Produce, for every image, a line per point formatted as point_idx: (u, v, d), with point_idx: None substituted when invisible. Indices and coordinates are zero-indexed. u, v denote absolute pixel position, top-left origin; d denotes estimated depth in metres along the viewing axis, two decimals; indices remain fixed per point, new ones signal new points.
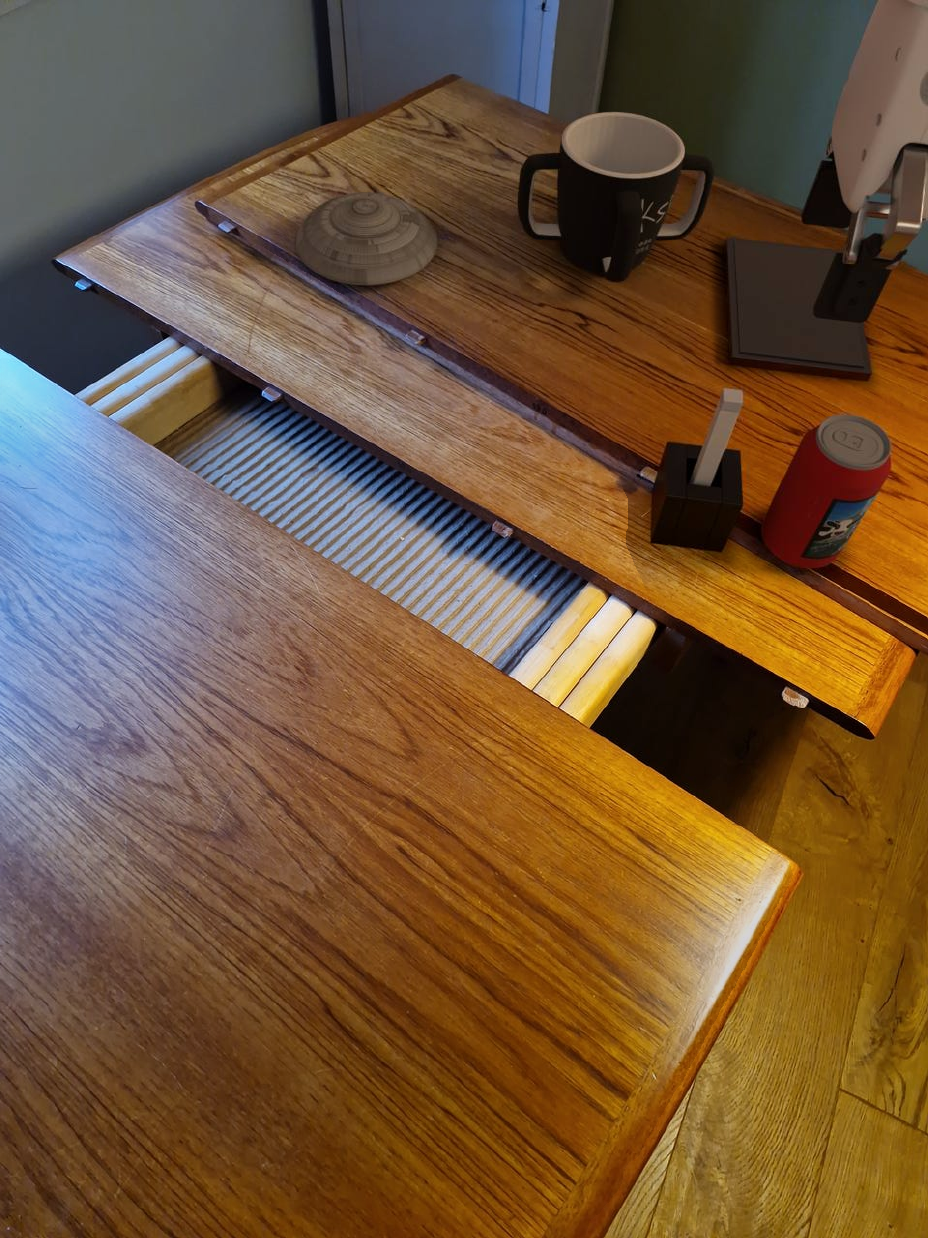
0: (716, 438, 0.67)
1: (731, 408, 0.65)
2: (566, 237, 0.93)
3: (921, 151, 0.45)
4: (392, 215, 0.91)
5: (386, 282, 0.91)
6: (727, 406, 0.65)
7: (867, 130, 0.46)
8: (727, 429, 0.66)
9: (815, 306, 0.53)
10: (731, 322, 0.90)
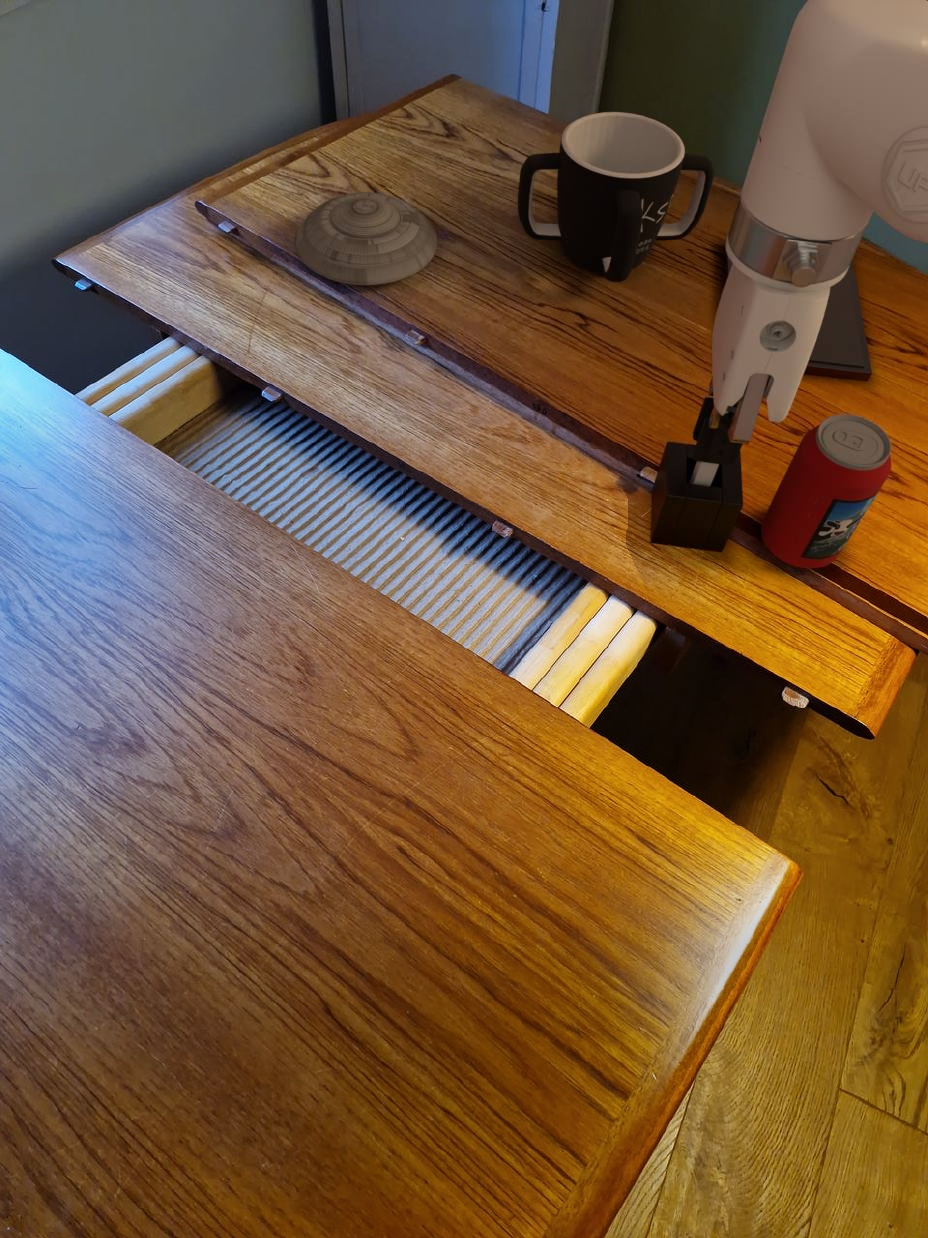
0: None
1: (731, 408, 0.65)
2: (566, 237, 0.93)
3: (760, 386, 0.58)
4: (392, 215, 0.91)
5: (386, 282, 0.91)
6: None
7: (726, 358, 0.58)
8: None
9: (694, 453, 0.68)
10: None
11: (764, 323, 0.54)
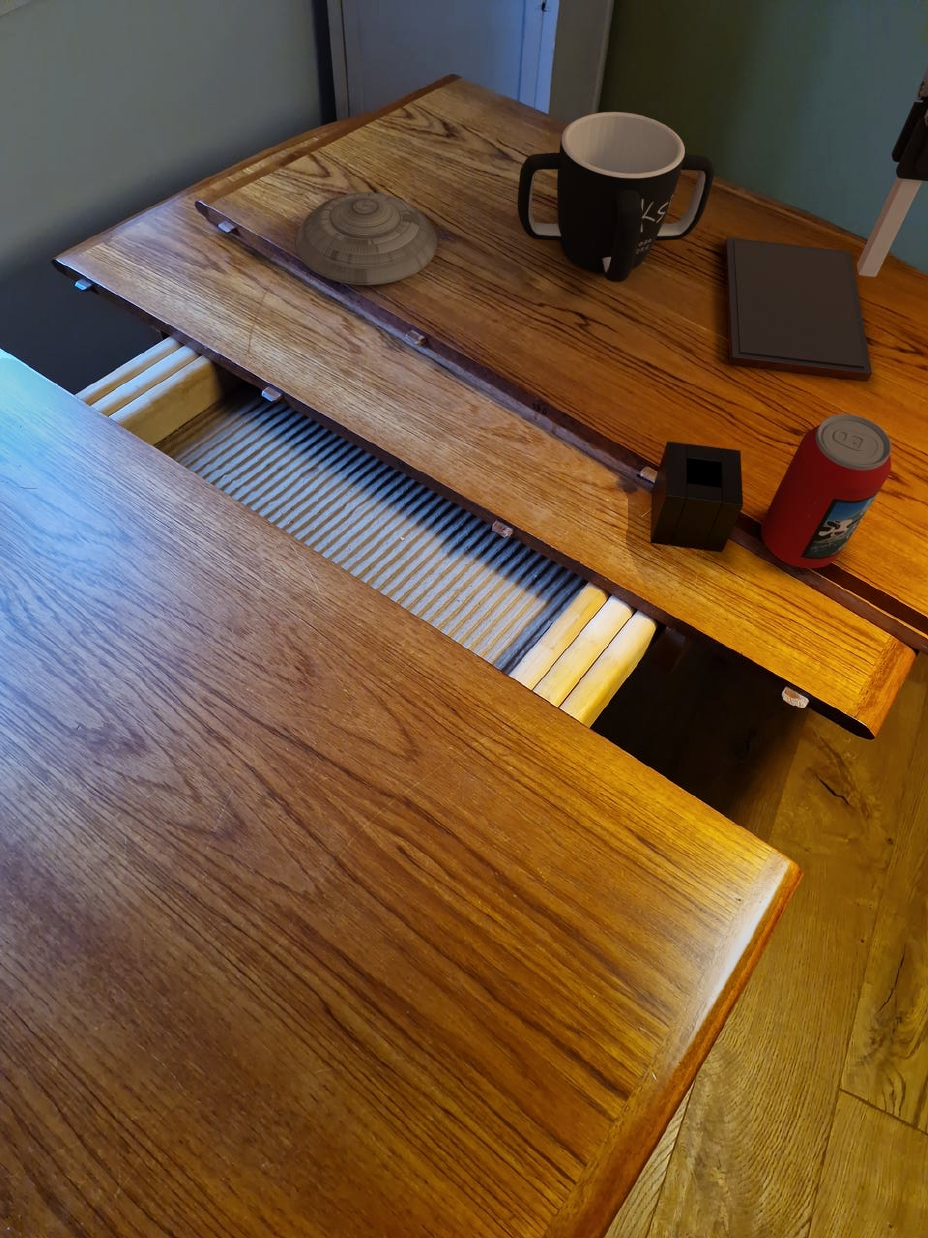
0: None
1: None
2: (566, 237, 0.93)
3: None
4: (392, 215, 0.91)
5: (386, 282, 0.91)
6: None
7: None
8: None
9: (898, 167, 0.64)
10: (731, 322, 0.90)
11: None
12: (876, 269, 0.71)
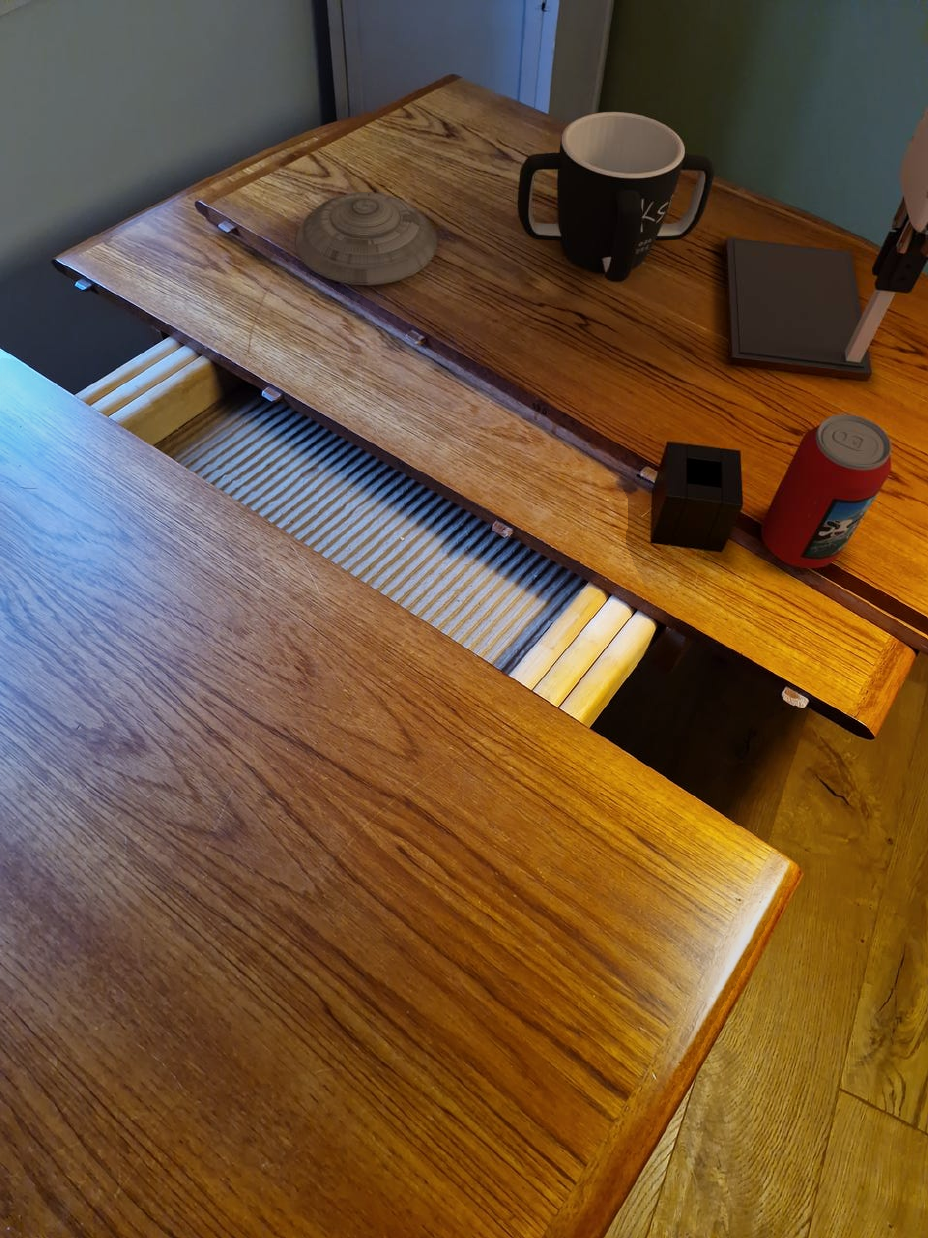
0: None
1: None
2: (566, 237, 0.93)
3: None
4: (392, 215, 0.91)
5: (386, 282, 0.91)
6: None
7: None
8: None
9: (876, 282, 0.79)
10: (731, 322, 0.90)
11: None
12: (860, 356, 0.86)
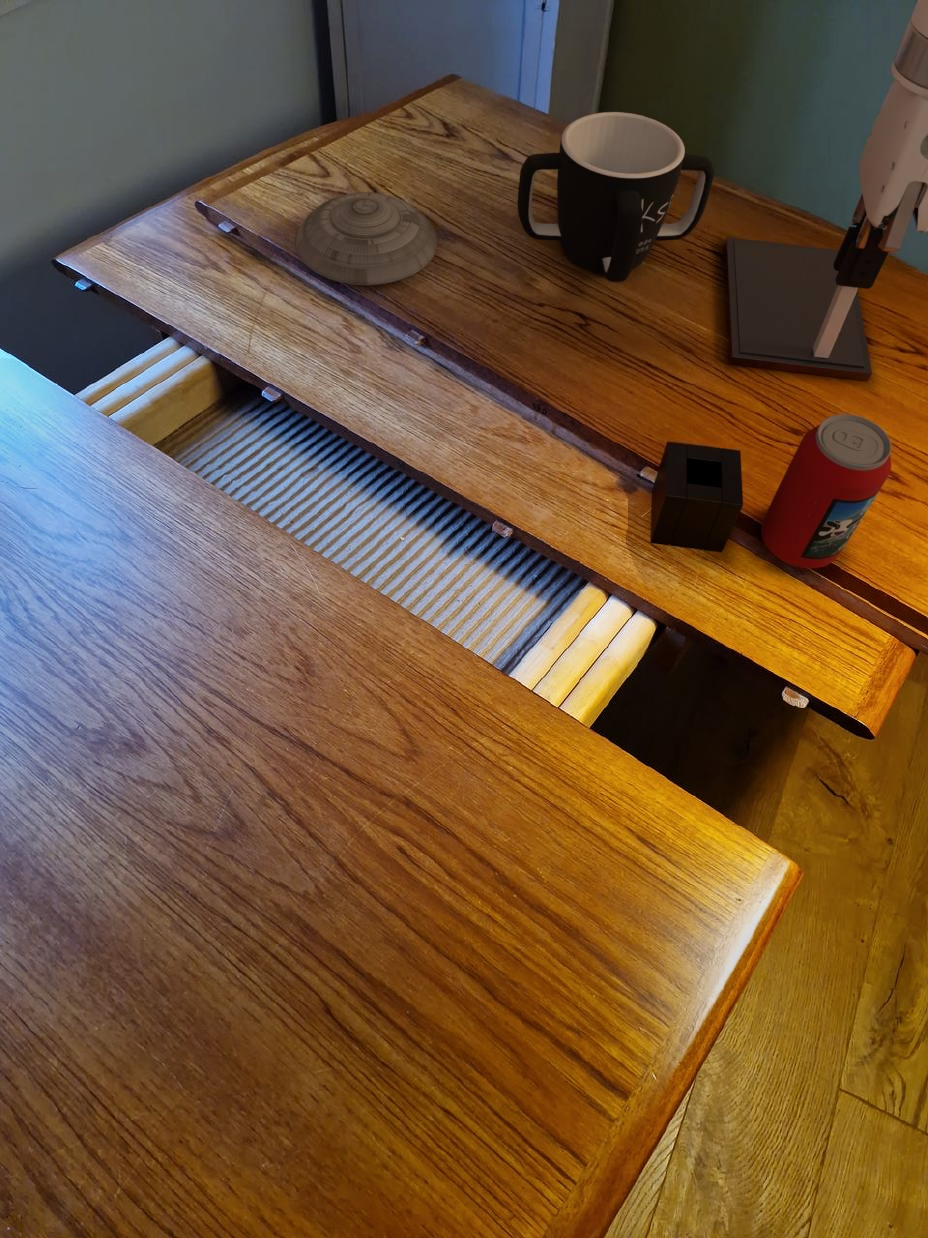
0: None
1: None
2: (566, 237, 0.93)
3: (914, 196, 0.69)
4: (392, 215, 0.91)
5: (386, 282, 0.91)
6: None
7: (885, 172, 0.69)
8: None
9: (837, 277, 0.79)
10: (731, 322, 0.90)
11: (926, 132, 0.65)
12: (828, 352, 0.86)
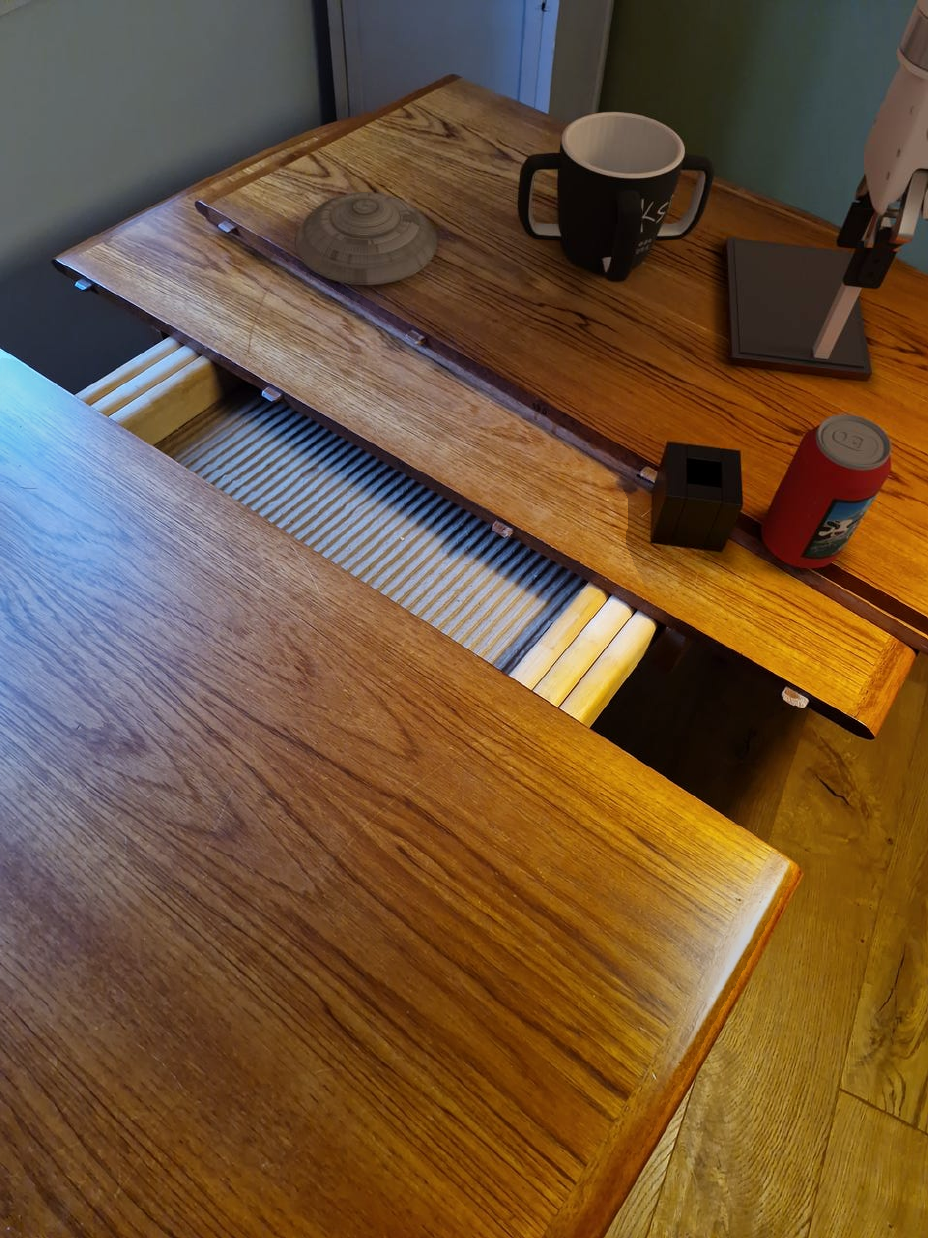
0: None
1: None
2: (566, 237, 0.93)
3: (923, 180, 0.68)
4: (392, 215, 0.91)
5: (386, 282, 0.91)
6: None
7: (890, 159, 0.68)
8: None
9: (844, 277, 0.77)
10: (731, 322, 0.90)
11: None
12: (828, 353, 0.86)
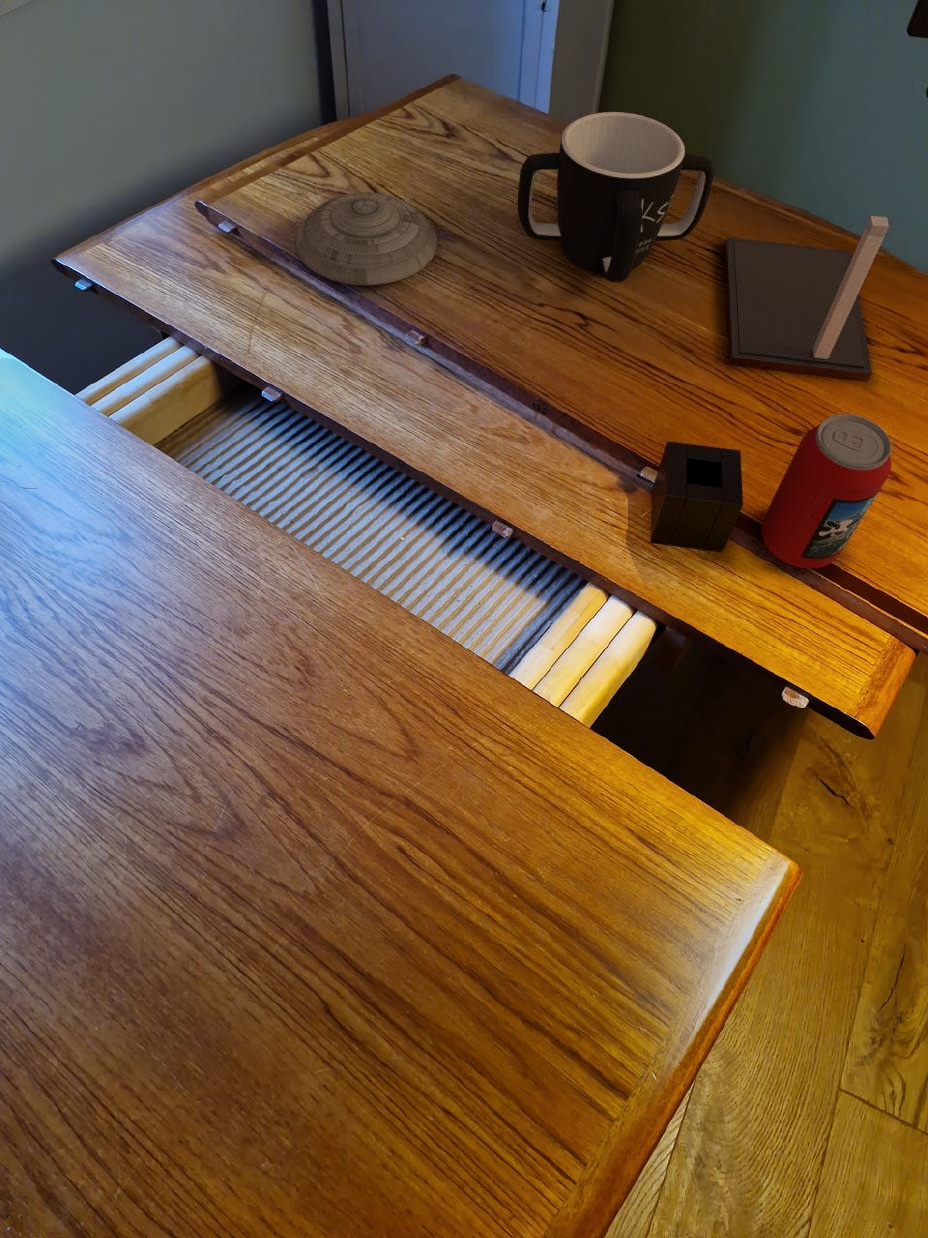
0: (860, 264, 0.78)
1: (878, 232, 0.76)
2: (566, 237, 0.93)
3: None
4: (392, 215, 0.91)
5: (386, 282, 0.91)
6: (874, 230, 0.76)
7: None
8: (871, 254, 0.77)
9: None
10: (731, 322, 0.90)
11: None
12: (827, 353, 0.86)
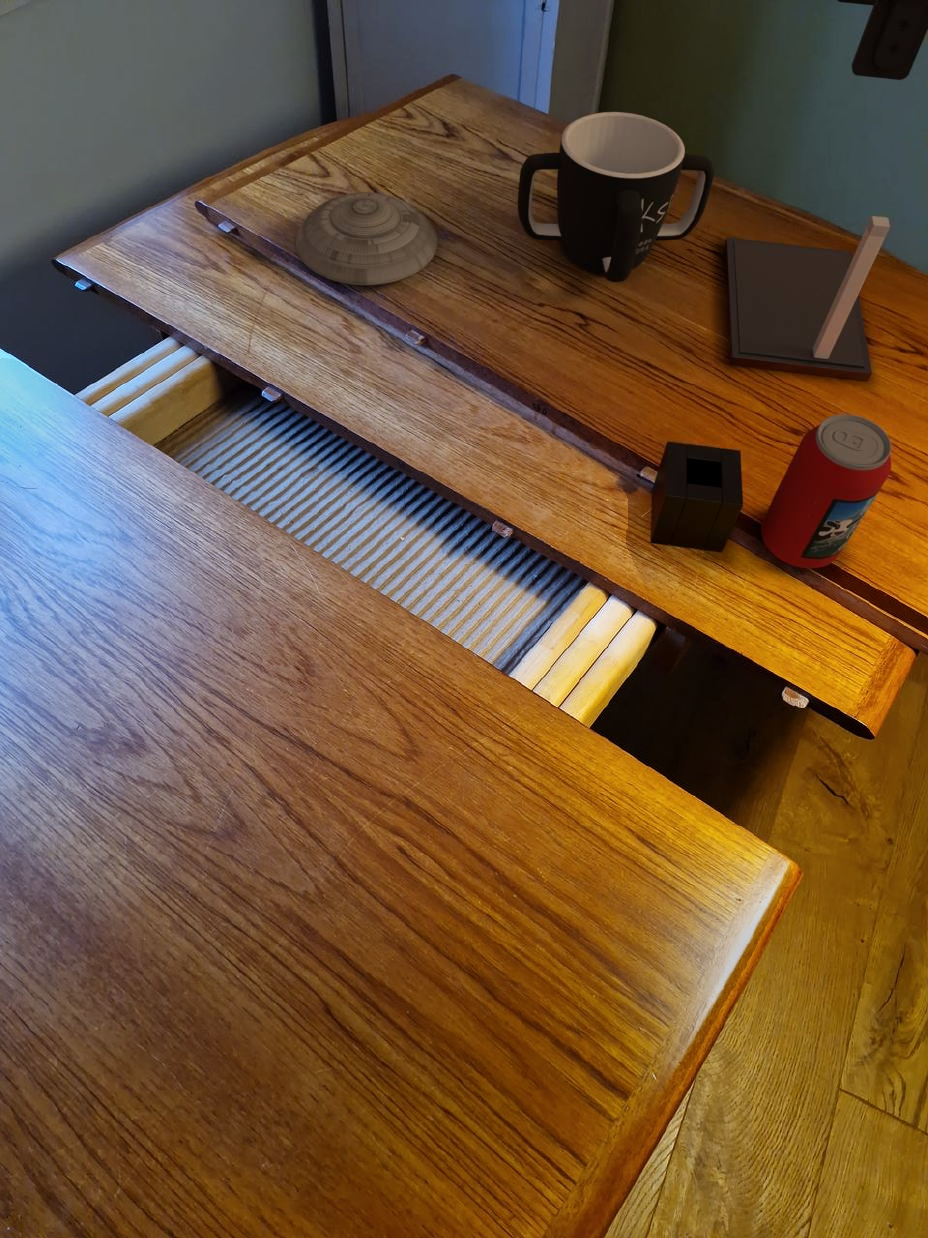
0: (861, 264, 0.78)
1: (879, 232, 0.76)
2: (566, 237, 0.93)
3: None
4: (392, 215, 0.91)
5: (386, 282, 0.91)
6: (875, 230, 0.76)
7: None
8: (872, 254, 0.77)
9: (854, 61, 0.51)
10: (731, 322, 0.90)
11: None
12: (827, 353, 0.86)
